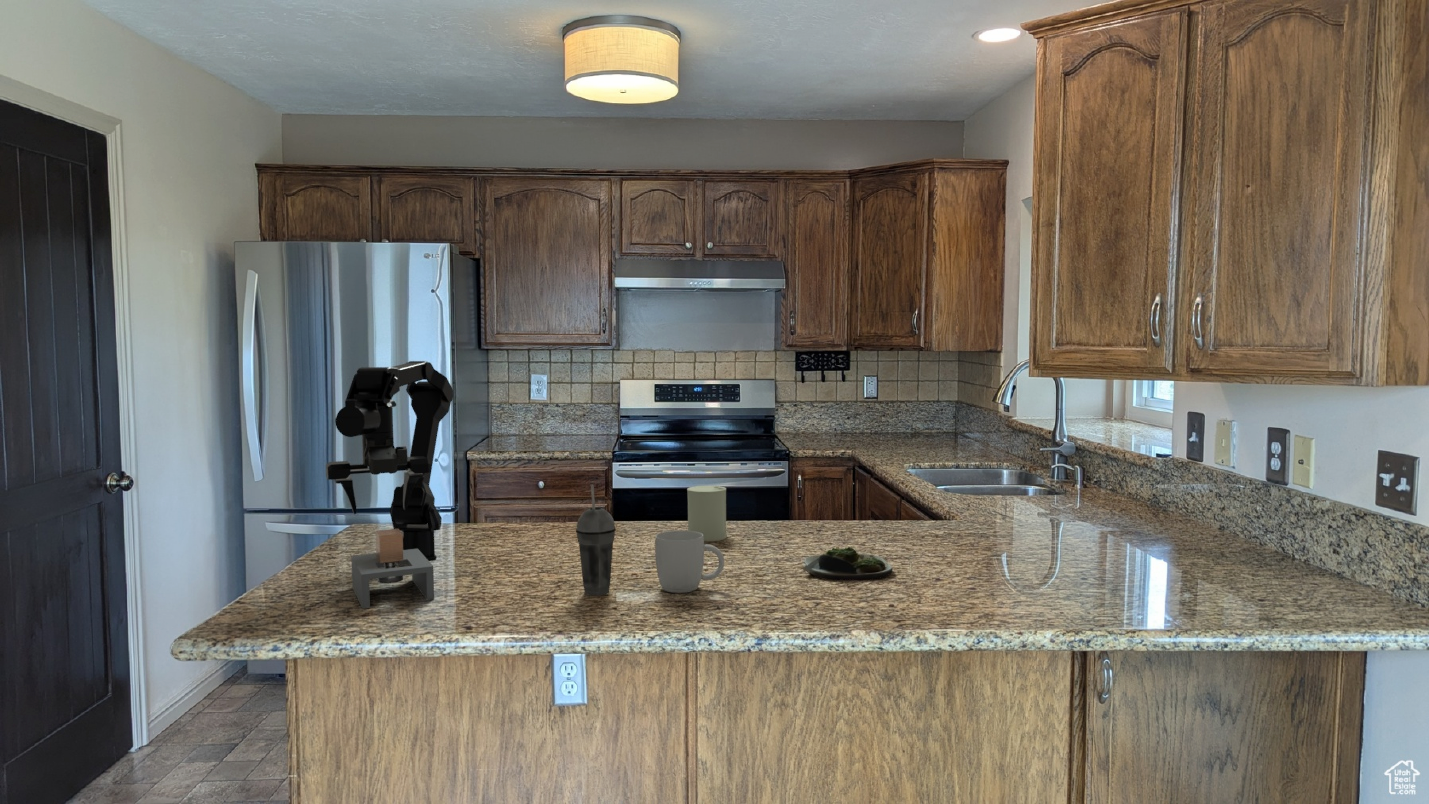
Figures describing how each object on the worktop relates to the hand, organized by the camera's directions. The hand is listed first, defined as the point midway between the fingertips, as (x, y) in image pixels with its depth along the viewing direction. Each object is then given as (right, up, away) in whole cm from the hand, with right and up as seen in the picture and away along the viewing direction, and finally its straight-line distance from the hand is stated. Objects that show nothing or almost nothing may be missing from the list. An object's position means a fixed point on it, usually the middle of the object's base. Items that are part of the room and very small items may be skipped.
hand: (380, 511), depth 177 cm
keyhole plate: (+6, -14, -11) cm, 18 cm away
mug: (+61, -13, -9) cm, 63 cm away
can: (+63, -11, +35) cm, 73 cm away
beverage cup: (+44, -14, -11) cm, 47 cm away
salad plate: (+91, -13, +3) cm, 92 cm away
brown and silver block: (+5, -12, -9) cm, 16 cm away
